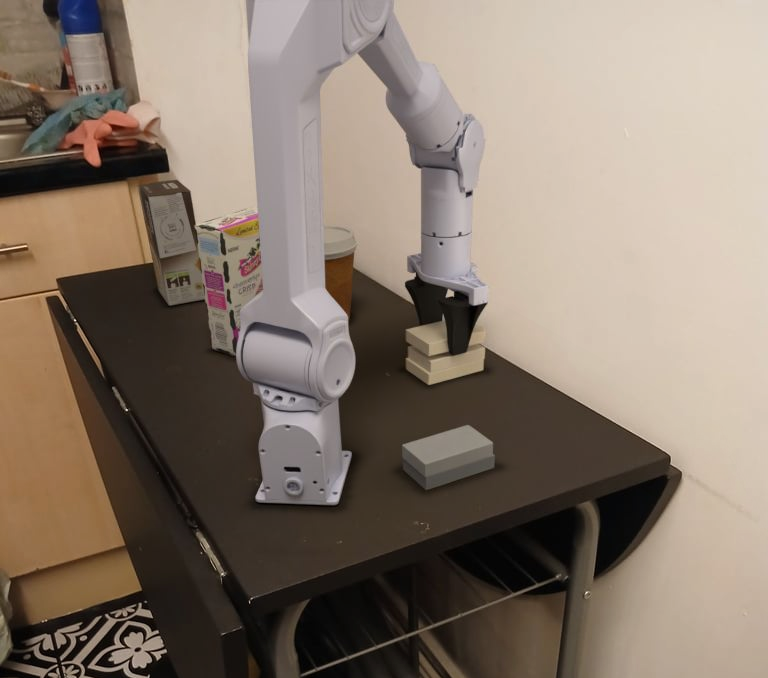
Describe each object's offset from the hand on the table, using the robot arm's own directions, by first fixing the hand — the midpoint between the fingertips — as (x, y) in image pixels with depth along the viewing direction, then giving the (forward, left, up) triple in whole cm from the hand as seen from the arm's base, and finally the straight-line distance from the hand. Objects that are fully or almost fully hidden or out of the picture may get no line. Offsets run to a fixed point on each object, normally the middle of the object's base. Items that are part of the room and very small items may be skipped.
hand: (444, 344), depth 97 cm
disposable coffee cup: (+17, +17, -3) cm, 24 cm away
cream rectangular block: (0, 0, 0) cm, 0 cm away
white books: (0, 0, -3) cm, 3 cm away
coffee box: (+27, +42, -3) cm, 50 cm away
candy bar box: (+9, +26, -3) cm, 28 cm away
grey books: (-23, -2, -3) cm, 24 cm away
